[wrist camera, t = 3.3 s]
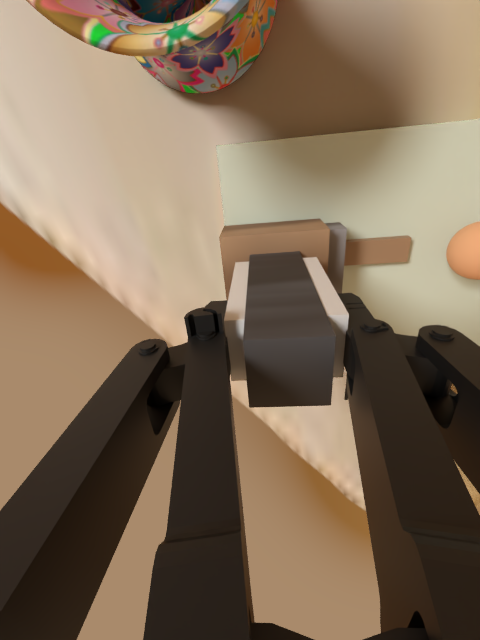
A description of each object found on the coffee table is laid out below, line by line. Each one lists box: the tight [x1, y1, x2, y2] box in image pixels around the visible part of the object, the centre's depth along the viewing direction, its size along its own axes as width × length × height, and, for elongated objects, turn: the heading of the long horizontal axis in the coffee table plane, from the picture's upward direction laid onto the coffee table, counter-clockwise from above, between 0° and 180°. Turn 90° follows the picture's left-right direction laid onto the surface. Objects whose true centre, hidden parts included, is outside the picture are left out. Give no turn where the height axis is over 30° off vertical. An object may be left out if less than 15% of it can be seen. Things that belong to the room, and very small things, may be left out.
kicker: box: [219, 218, 347, 407], centre depth 15 cm, size 5×7×12 cm
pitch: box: [216, 119, 480, 346], centre depth 21 cm, size 16×22×2 cm
